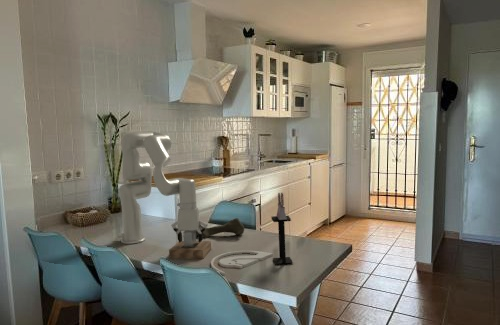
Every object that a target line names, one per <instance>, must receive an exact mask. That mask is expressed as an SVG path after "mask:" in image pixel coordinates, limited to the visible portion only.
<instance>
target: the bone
mask: <svg viewBox="0 0 500 325" xmlns="http://www.w3.org/2000/svg"><path fill="white" fill-rule="evenodd" d="M203 227H204V226H203V225H201V227H200V228H201V229H203ZM244 232H245V226H244V224H243V223H242V222H241V221H240V219H239V218H238V217H235V218H233V219H231V220H229V221H227V222H226V223H225V224H221V225H217V226H212V227H206V229H205V231H204V232H203V233H202V235H203V238H204V239H207V238H209V237H211V236H213V235H217V234H221V233H231V234H235V235H236V236H237V235H240V236H242V235H243V234H244ZM198 234H199V233H198V231H197V230H196V236H198Z"/></svg>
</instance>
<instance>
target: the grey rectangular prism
mask: <svg viewBox="0 0 500 325" xmlns="http://www.w3.org/2000/svg"><path fill="white" fill-rule="evenodd" d="M182 237H183V241H184V248H195V247H196V241H197V235H196V231H182Z"/></svg>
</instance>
